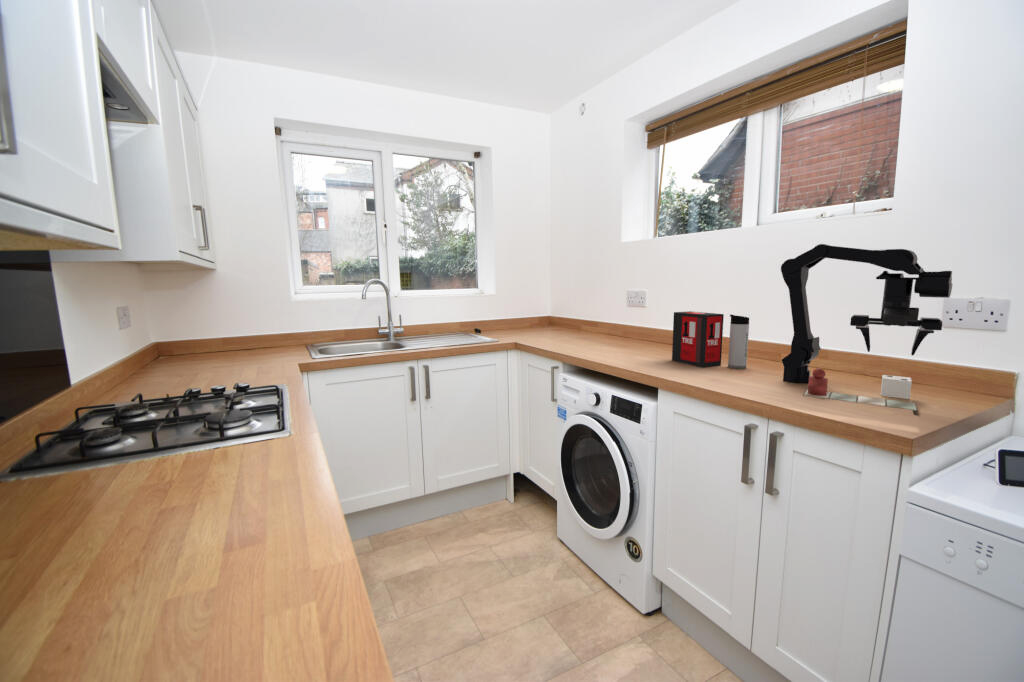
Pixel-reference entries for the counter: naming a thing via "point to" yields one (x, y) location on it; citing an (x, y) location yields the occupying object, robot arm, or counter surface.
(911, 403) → the board
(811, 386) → the pawn
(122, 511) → the counter surface
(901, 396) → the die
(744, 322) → the travel mug
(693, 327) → the cleaning product box
